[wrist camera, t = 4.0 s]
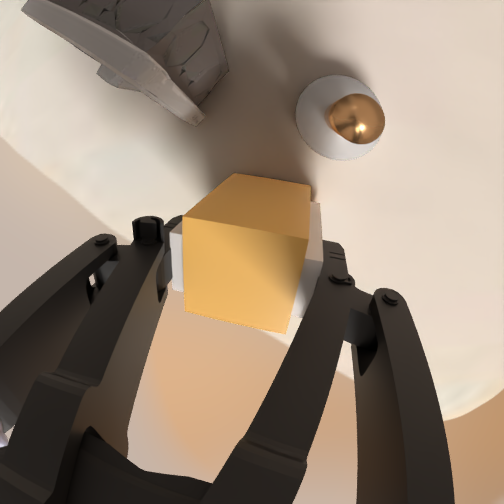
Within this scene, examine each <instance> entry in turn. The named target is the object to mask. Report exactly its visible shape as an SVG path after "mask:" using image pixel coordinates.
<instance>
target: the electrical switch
mask: <svg viewBox="0 0 504 504" xmlns="http://www.w3.org/2000/svg"><path fill="white" fill-rule="evenodd" d="M202 1H203V0H28V1H27V2H26V4H25V5H24V6H23V8H22V9H21V11H22V12H24V13H25V14H26V15H27V16H29V17H30V18H32V19H33V20H35V21H36V22H38V23H39V24H41V25H42V26H44V27H45V28H47V29H49V30H50V31H52V32H54V33H55V34H57V35H59V36H60V37H62V38H64V39H65V40H67V41H68V42H70V43H71V44H73V45H75V47H76V48H78V49H79V50H81V51H82V52H84V53H85V54H87V55H88V56H90V57H91V58H93V59H95V60H96V61H98V62H99V63H101V66H100V68H99V70H98V72H97V73H96V74H97V75H99V76H100V77H101V78H102V79H103V80H105V81H106V82H107V83H109V84H111V85H113V86H115V87H117V88H123V89H129V90H134V91H139V92H143V93H144V94H146V95H147V96H148V97H150V98H151V99H153V100H154V101H156V102H157V103H159V104H160V105H161V106H163V107H164V108H166V109H167V110H169V111H170V112H172V113H173V114H175V115H176V116H177V117H179V118H180V119H182V120H184V121H186V122H188V123H190V124H191V125H193V126H195V127H196V126H197V125H198V124H199V123H200V122H201V121H202V120H203V119H204V118H205V114H204V113H203V112H202V111H201V110H199V108H198V107H197V106H198V105H199V103H200V102H201V101H202V100H203V99H204V98H205V97H206V96H207V95H208V94H209V93H210V91H211V90H212V88H213V87H214V85H215V84H216V83H217V82H218V81H219V80H220V79H221V78H222V77H223V76H224V75H225V74H226V73H227V72H228V71H229V69H228V65H227V61H226V58H225V54H224V50H223V47H222V43H221V40H220V36H219V32H218V29H217V25H216V22H215V18H214V15H213V11H212V8H211V4H210V1H209V0H205V1H203V2H202ZM200 2H202V3H201V4H199V3H200ZM198 4H199V5H198ZM197 5H198V6H197ZM195 6H197V7H195ZM194 7H195V8H194ZM193 8H194V9H193ZM192 9H193V10H192ZM189 11H190V12H189ZM188 12H189V13H188ZM187 13H188V14H187Z"/></svg>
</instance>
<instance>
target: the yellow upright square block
mask: <svg viewBox="0 0 504 504" xmlns="http://www.w3.org/2000/svg"><path fill="white" fill-rule="evenodd" d="M310 198H311V186H309V185H304V184H298V183H293V182H287V181H282V180H276V179H270V178H264V177H257V176H251V175H244V174H237V173H233V174H232V175H231V176H230V177H228V178H227V179H226V180H225V181H224V182H222V183H221V184H220V185H219V186H218V187H216V188H215V189H214V190H213V191H212V192H210V193H209V194H208V195H207V196H206V197H204V198H203V199H202V200H201V201H200V202H199V203H197V204H196V205H195V206H194V207H193V208H192V209H190V210H189V211H188V212H187V213H186V214H185V215H184V216H182V236H183V280H184V302H185V311H186V312H190V313H194V314H197V315H201V316H205V317H209V318H213V319H217V320H222V321H226V322H230V323H234V324H238V325H243V326H248V327H253V328H257V329H261V330H266V331H271V332H276V333H281V334H286V331H287V328H288V324H289V320H290V316H291V313H292V309H293V305H294V301H295V297H296V293H297V289H298V285H299V281H300V276H301V272H302V268H303V264H304V259H305V255H306V251H307V246H308V242H309V228H310Z"/></svg>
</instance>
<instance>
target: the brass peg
mask: <svg viewBox="0 0 504 504" xmlns="http://www.w3.org/2000/svg"><path fill="white" fill-rule="evenodd" d="M324 118H325V122H326V124H327V126H328V127H329V128H330V129H331V130H333V131H334V132H336V133H337V134H338V135H340V136H341V137H343V138H344V139H346V140H347V141H349V142H351V143H354V144H360V145H362V144H368V143H371V142H373V141H375V140H376V139H377V138H379V136H380V135H381V134H382V132H383V129H384V126H385V117H384V113H383V110H382V108H381V107H380V105H379V104H378V103H377V102H376V101H375V100H374V99H373V98H371V97H370V96H368V95H365V94H360V93H353V94H349V95H346V96H344V97H343V98H341V99H339V100H337V101H335V102H334V103H332V104H330V105H329V106H328V107H327V109H326V111H325V114H324Z"/></svg>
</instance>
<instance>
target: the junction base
mask: <svg viewBox="0 0 504 504" xmlns="http://www.w3.org/2000/svg"><path fill="white" fill-rule="evenodd" d="M353 93H360V94H365V95H368V96H370V97H371V98H373V99H374V100H375V101H376V102H377V103H378V104H379V105H380V102H379V100H378V99H377V97H376V96H375V94H374V93H373V92H372V91H371V90H370V88H368V87H367V86H366V85H365V84H363V83H362V82H360V81H358V80H356V79H354V78H351V77H348V76H344V75H329V76H325V77H322V78H319V79H317V80H315V81H313V82H312V83H311V84H309V85H308V86H307V87H306V88H305V89H304V91H303V92H302V94H301V95H300V97H299V100H298V102H297V106H296V123H297V127H298V130H299V132H300V135H301V136H302V138H303V140H304V141H305V142H306V143H307V145H308V146H309V147H310V148H311V149H313V150H314V151H315V152H317V153H318V154H320V155H322V156H324V157H326V158H329V159H333V160H341V161H346V160H353V159H356V158H359V157H361V156H363V155H365V154H367V153H368V152H369V151H371V150H372V149H373V148H374V146H375V145H376V144H377V142H378V141H379V139H380V137H381V135H380V136H379V138H377V139H376V140H375V141H373V142H371V143H368V144H362V145H360V144H354V143H351V142H349V141H347V140H346V139H344V138H343V137H341V136H340V135H338V134H337V133H336V132H334V131H333V130H331V129H330V128H329V127H328V126H327V124H326V122H325V118H324V114H325V111H326V109H327V107H328V106H329V105H330V104H332V103H334V102H335V101H337V100H339V99H341V98H343V97H344V96H346V95H349V94H353ZM380 107H381V105H380ZM381 108H382V107H381Z"/></svg>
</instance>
